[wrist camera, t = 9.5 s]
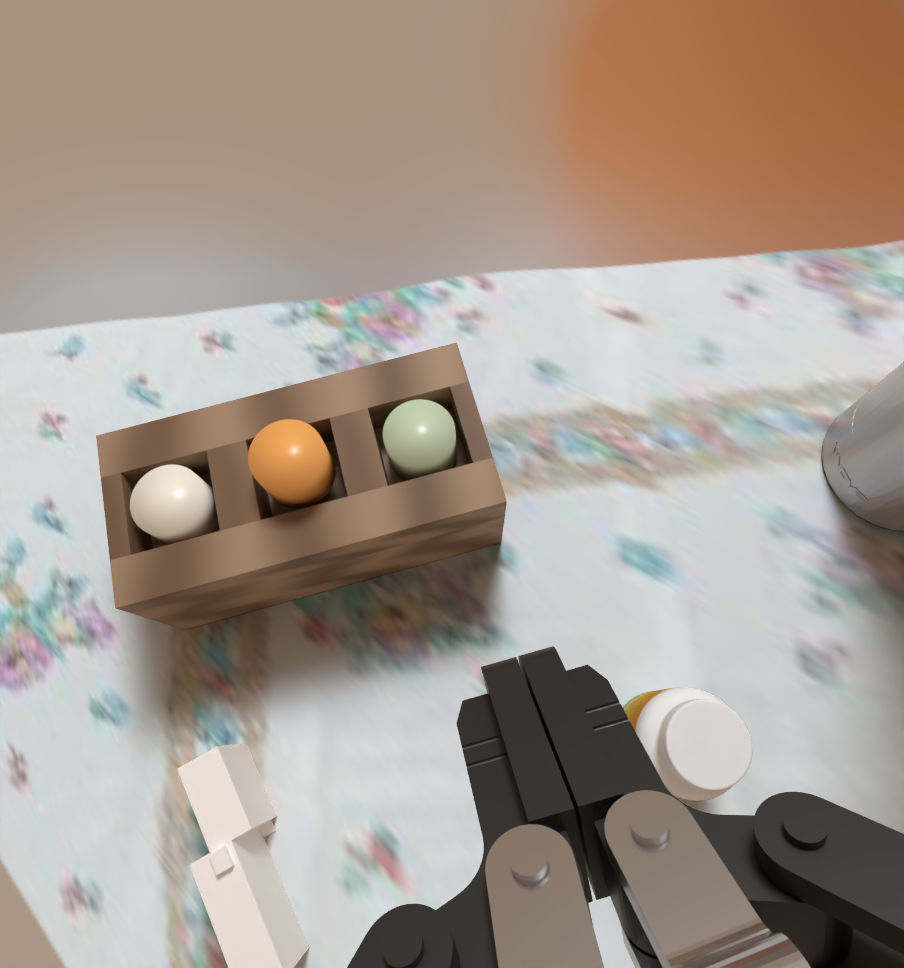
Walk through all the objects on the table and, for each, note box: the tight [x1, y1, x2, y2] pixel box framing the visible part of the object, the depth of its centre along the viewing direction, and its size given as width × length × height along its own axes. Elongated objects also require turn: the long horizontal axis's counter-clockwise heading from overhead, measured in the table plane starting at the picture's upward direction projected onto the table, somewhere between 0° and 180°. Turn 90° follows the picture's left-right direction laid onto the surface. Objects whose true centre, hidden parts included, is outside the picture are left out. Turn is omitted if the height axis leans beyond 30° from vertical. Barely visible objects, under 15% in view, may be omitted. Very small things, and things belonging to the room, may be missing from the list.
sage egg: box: [383, 399, 457, 481], centre depth 39 cm, size 4×4×3 cm
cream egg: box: [130, 465, 219, 545], centre depth 39 cm, size 4×4×3 cm
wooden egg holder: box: [96, 343, 507, 630], centre depth 42 cm, size 21×10×9 cm, turn 105°
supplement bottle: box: [622, 687, 752, 801], centre depth 37 cm, size 5×5×10 cm
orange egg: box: [248, 419, 336, 508], centre depth 37 cm, size 4×4×3 cm
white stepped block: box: [178, 743, 309, 968], centre depth 38 cm, size 15×11×6 cm
